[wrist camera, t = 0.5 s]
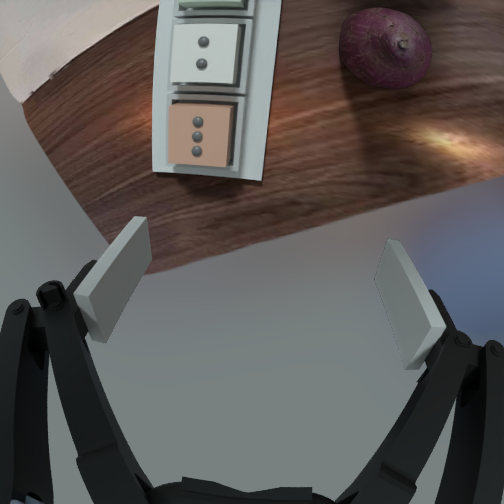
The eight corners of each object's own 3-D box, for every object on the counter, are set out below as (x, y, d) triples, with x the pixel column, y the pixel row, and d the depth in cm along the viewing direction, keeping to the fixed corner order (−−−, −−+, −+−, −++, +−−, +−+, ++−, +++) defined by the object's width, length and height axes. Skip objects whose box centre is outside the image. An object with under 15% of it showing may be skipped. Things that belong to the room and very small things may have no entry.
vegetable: (347, 88, 33) (348, 124, 23) (329, 13, 27) (319, 6, 17) (426, 84, 29) (464, 120, 19) (411, 8, 23) (449, 1, 12)
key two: (182, 28, 26) (173, 24, 23) (241, 28, 26) (237, 23, 23) (178, 81, 29) (169, 82, 26) (236, 82, 29) (232, 83, 26)
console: (169, -46, 22) (160, -54, 19) (286, -47, 21) (287, -57, 18) (155, 169, 38) (145, 177, 35) (261, 178, 38) (260, 187, 35)
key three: (177, 103, 31) (168, 106, 28) (234, 105, 30) (230, 108, 28) (176, 155, 34) (167, 163, 31) (229, 159, 34) (225, 167, 31)
